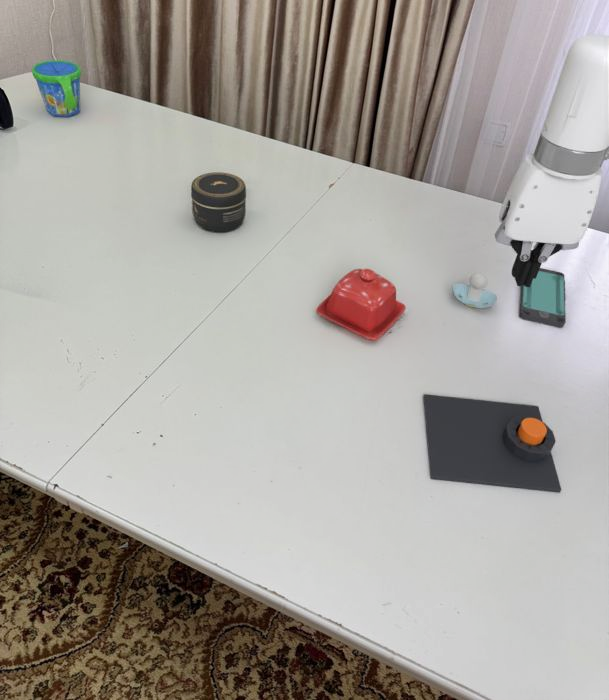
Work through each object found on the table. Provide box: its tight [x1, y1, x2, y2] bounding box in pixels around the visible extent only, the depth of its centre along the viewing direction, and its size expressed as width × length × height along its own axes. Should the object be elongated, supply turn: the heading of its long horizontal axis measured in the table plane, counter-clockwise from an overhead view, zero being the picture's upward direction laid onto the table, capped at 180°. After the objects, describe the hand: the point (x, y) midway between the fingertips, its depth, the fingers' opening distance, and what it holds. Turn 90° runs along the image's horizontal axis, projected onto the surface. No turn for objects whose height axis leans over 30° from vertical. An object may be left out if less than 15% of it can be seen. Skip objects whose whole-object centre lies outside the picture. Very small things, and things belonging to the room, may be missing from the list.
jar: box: [190, 171, 247, 234], centre depth 115 cm, size 10×10×8 cm
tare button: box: [518, 418, 547, 445], centre depth 80 cm, size 3×3×2 cm
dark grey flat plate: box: [422, 393, 562, 494], centre depth 81 cm, size 16×14×2 cm
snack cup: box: [31, 59, 82, 118], centre depth 146 cm, size 16×10×10 cm
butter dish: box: [315, 268, 407, 341], centre depth 97 cm, size 12×12×8 cm
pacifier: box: [452, 272, 498, 309], centre depth 103 cm, size 7×6×6 cm
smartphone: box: [518, 267, 567, 329], centre depth 106 cm, size 7×1×15 cm
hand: (521, 280), depth 85 cm, fingers closed
